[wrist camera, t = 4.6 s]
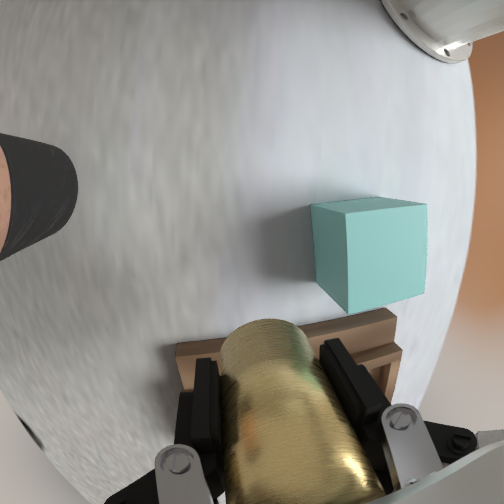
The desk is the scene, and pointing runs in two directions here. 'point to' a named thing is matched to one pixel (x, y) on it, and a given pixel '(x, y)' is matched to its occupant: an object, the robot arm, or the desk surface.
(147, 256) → the desk surface
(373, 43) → the desk surface
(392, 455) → the robot arm
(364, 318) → the organizer
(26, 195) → the travel mug
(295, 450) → the peg
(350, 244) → the block
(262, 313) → the desk surface
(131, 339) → the desk surface
